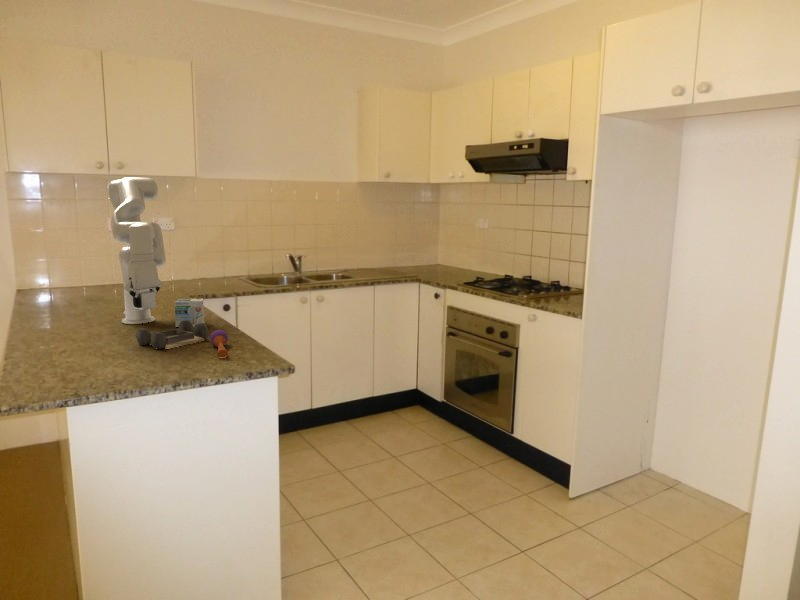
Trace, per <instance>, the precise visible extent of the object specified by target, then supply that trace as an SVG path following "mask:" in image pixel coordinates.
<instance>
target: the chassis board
mask: <svg viewBox="0 0 800 600" xmlns="http://www.w3.org/2000/svg"><path fill="white" fill-rule="evenodd" d="M135 335H136V336H135V337H136V340H137V343H138V345H140V344H142V345H144V346H147V344H151V345H152V347H153V349H155V348H157V349H159V350H161V349H162V348H172V347H176V346H181V345H185V344H190V343H194V342H198V341H202V340H204V341H205V340H206V338H207V339H208V336H209V328H208V325H206V323H205V322H204V323H200V324H196V325H195V326H194V327H193V325H192V323H191V322H190V321H189V320H184V321H181V322H180V324H179V328H174V329H167V330H163V331H162V330H161V331H155V332H152V333H151V332H150V330H149V329H148V328H147V327H142V328H138V329H137V330H136V332H135ZM151 345H150V346H151ZM162 350H163V349H162Z"/></svg>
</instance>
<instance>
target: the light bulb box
mask: <svg viewBox="0 0 800 600" xmlns="http://www.w3.org/2000/svg"><path fill="white" fill-rule="evenodd" d="M204 306H205V305H204V298H177V299H176V300H175V301H174V318H175V319H174V320H175V321H174V322H175V328H176V327H179V324H180V322H181V321H184V320H189V321H190V322H191V323H192V325H193V326H195V325H196V324H200V323H204V324H205V307H204Z"/></svg>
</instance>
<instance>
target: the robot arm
mask: <svg viewBox="0 0 800 600" xmlns="http://www.w3.org/2000/svg"><path fill="white" fill-rule="evenodd" d="M107 186H108V187H107V189H108V190H107V191H108V196H109V200H110V202H111V204H112V206H113V209H114V211H113V212H112V215H111V219H110V225H111V231H112V235H113V239H114V240H115V241H116V242H118V243H122V244H125V245H126V246H123V247H121V248H120V249H119V251H118V259H119V264H120V267H121V275H122V284H123V285H122V286H123V298H124V300H123V301H124V311H123V312H122V314H123V315H124V316H125V317H123V318H121V323H123V324H125V325H126V324H127V325H140V324H142V323H143V324H148V322H149V323H152V322H154V321H156V318H155V316H153V315H151V309H147V310H140V309H136V308H140V297H138V296H139V292H140V291H145V290H149V291H153V292H155V294H156V296H157V294H158V292H159V291H160V290H161V288H162V287H163V286H164V283H163V282H162V280H161V279H160V278H159V273H158V268H162V267H164V266H165V264H166V250H165V245H164V244H165V243H164V237H163V233H162V228H161V225H159V223H157V222H154V221H142V220H141V214H143V213H144V211H145V209H146V203H145V201H146V202H147V201H153V200H156V199H157V197H158V195H159V187H158V184H157V182H156V180H155V179H154V178H151V177H134V176H129V177H123V178H121V179H116V180H112V181H110V182H109V183H108V185H107ZM134 307H136V308H134Z"/></svg>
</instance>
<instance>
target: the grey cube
mask: <svg viewBox="0 0 800 600" xmlns="http://www.w3.org/2000/svg"><path fill="white" fill-rule="evenodd" d="M138 297H140V308H136V307H134V308H136V309H140V310H147V309H150V310H151V309H157V295H156V294H155V292H153V291H149V290H145V291H140V292H139V296H138Z"/></svg>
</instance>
